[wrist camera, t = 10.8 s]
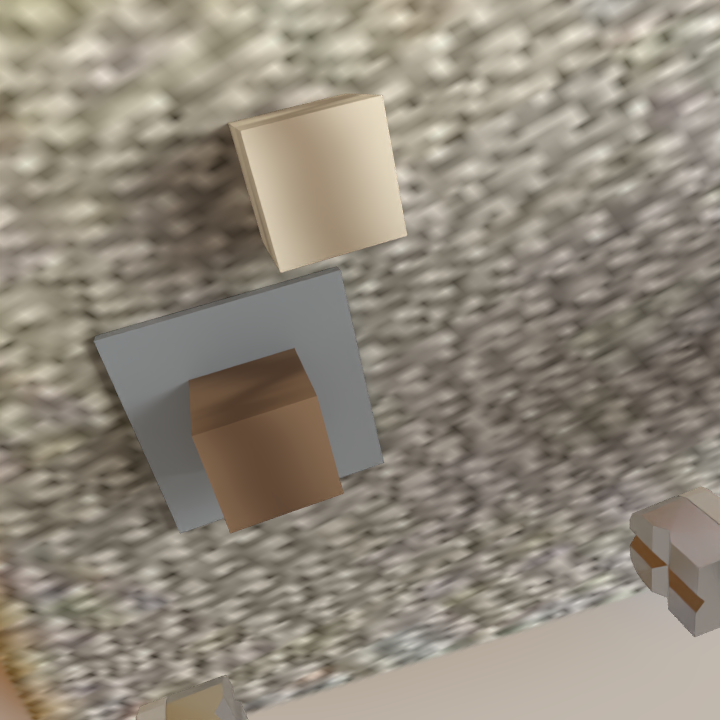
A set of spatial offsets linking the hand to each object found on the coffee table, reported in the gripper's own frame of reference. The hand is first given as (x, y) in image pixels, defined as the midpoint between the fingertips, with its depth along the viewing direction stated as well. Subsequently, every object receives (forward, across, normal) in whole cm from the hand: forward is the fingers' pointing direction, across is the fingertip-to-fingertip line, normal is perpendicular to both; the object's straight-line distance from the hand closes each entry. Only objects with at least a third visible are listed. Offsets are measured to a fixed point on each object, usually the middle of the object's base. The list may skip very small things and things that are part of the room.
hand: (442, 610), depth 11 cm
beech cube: (+19, -2, -5) cm, 20 cm away
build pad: (+19, +3, +5) cm, 19 cm away
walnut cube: (+18, +3, +5) cm, 19 cm away
